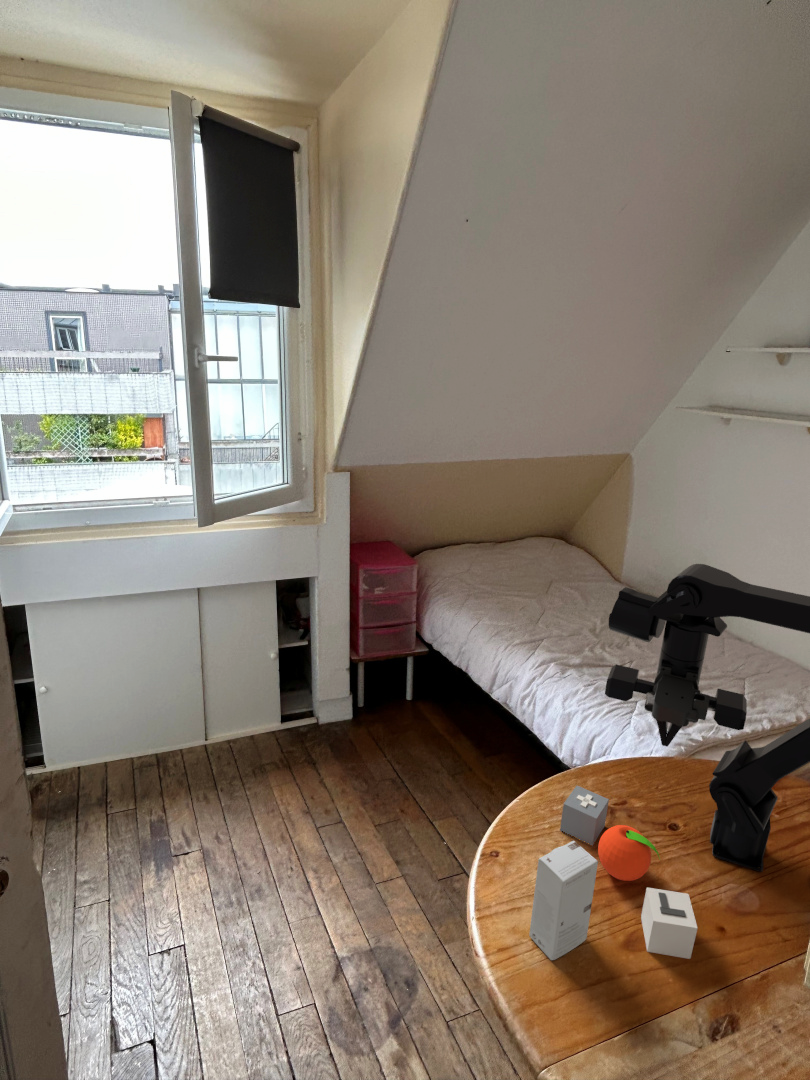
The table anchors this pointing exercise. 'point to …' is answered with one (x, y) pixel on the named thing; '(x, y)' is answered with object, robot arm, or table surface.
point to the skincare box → (563, 899)
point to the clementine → (625, 852)
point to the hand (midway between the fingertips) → (664, 744)
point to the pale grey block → (668, 923)
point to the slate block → (584, 815)
